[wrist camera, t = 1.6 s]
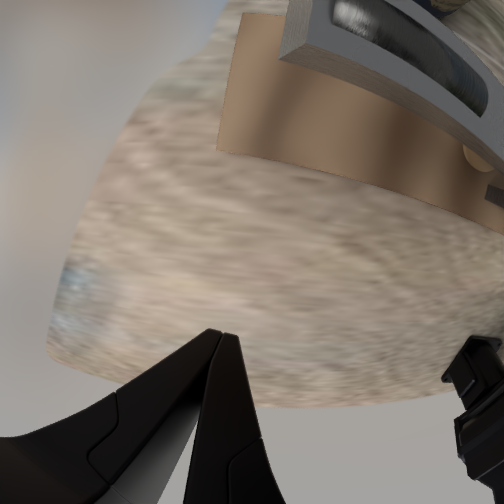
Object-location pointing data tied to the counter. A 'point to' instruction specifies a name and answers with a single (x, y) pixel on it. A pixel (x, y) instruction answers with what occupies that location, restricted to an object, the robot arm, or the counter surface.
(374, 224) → the counter surface
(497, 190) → the press frame
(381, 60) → the lever
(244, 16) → the base
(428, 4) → the canister
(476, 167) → the walnut
